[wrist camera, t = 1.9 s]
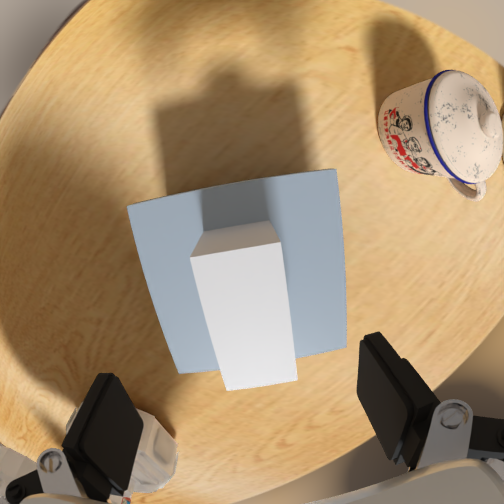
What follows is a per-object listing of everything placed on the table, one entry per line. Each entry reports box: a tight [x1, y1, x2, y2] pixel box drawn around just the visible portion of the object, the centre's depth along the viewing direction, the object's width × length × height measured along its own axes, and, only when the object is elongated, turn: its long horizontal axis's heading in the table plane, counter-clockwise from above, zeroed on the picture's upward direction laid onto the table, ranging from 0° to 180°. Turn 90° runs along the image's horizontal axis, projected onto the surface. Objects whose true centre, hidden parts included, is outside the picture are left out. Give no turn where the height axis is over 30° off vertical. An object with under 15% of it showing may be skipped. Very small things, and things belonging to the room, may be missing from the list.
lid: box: [127, 169, 347, 391], centre depth 16 cm, size 13×13×6 cm
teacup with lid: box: [378, 70, 503, 201], centre depth 18 cm, size 12×9×12 cm
